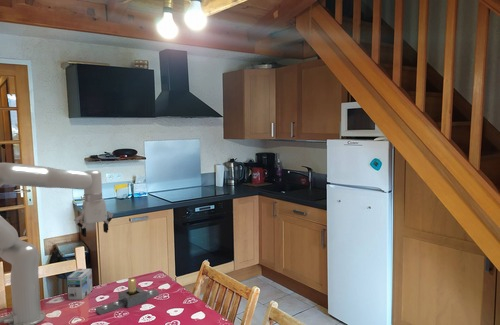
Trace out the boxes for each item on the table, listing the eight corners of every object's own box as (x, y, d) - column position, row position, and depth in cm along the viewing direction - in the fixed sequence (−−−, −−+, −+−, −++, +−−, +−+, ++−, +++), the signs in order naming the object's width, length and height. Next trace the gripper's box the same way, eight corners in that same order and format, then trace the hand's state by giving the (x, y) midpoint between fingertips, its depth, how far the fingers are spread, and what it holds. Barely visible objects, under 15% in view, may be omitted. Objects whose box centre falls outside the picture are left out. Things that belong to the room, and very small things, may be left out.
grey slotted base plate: (102, 316, 151) (101, 307, 151) (93, 309, 157) (93, 300, 157) (161, 296, 169) (161, 287, 169) (151, 290, 176) (151, 282, 176)
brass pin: (131, 303, 162) (130, 281, 162) (127, 301, 165) (126, 279, 164) (137, 301, 165) (136, 279, 164) (134, 299, 167) (133, 277, 166)
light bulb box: (82, 300, 167) (81, 276, 166) (67, 300, 167) (66, 276, 167) (93, 290, 178) (92, 268, 177) (79, 290, 178) (78, 268, 177)
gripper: (76, 200, 161) (78, 239, 162) (115, 195, 173) (117, 232, 174) (70, 198, 167) (72, 236, 168) (108, 194, 178) (110, 229, 180)
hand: (95, 234), depth 171 cm, fingers open, 9 cm apart
